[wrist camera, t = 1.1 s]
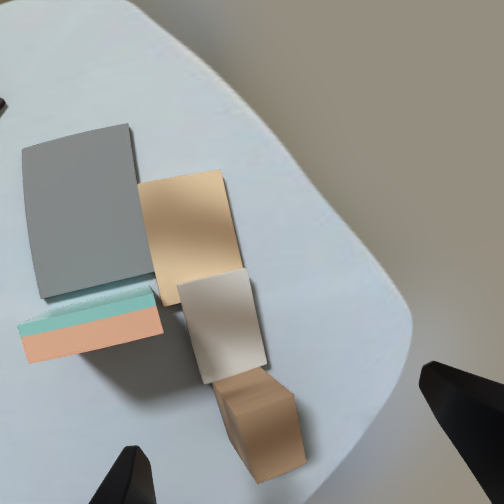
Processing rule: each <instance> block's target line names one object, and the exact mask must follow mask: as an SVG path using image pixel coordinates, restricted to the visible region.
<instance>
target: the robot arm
mask: <svg viewBox="0 0 504 504" xmlns="http://www.w3.org/2000/svg"><path fill="white" fill-rule="evenodd" d="M419 388H420V390H421V392H422V394H423V395H424V397H425V399H426V401H427V403H428V404H429V406H430V408H431V410H432V412H433V414H434V416H435V418H436V419H437V421H438V423H439V424H440V426H441V427H442V428H443V430H444V431H445V433H446V434H447V436H448V437H449V439H450V440H451V441H452V443H453V445H454V446H455V447H456V449H457V450H458V452H459V453H460V455H461V456H462V458H463V459H464V461H465V462H466V464H467V465H468V467H469V468H470V470H471V471H472V473H473V475H474V476H475V478H476V479H477V481H478V482H479V484H480V485H481V487H482V489H483V490H484V492H485V493H486V495H487V496H488V498H489V500H490V501H491V503H492V504H504V384H501V383H498V382H495V381H492V380H489V379H486V378H483V377H480V376H477V375H474V374H471V373H468V372H465V371H462V370H459V369H456V368H453V367H451V366H448V365H445V364H442V363H439V362H436V361H431V362H429V363H427V364H425V365H423V367H422V370H421V374H420V379H419ZM89 504H157V503H156V497H155V491H154V485H153V478H152V471H151V465H150V462H149V460H148V458H147V457H146V455H145V454H144V453H143V451H142V450H141V448H140V447H139V446H137V445H135V446H126V447H125V448H124V449H123V450H122V452H121V453H120V455H119V456H118V458H117V460H116V461H115V463H114V464H113V466H112V467H111V469H110V471H109V472H108V474H107V475H106V477H105V478H104V480H103V482H102V483H101V485H100V486H99V488H98V489H97V491H96V493H95V494H94V496H93V497H92V499H91V501H90V502H89Z"/></svg>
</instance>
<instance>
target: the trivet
mask: <svg viewBox="0 0 504 504" xmlns="http://www.w3.org/2000/svg"><path fill="white" fill-rule="evenodd" d="M22 172H23V189H24V201H25V211H26V220H27V228H28V235H29V242H30V248H31V254H32V260H33V265H34V270H35V275H36V280H37V285H38V289H39V294H40V298H41V299H43V298H47V297H51V296H55V295H59V294H63V293H68V292H72V291H76V290H80V289H84V288H88V287H93V286H97V285H101V284H105V283H109V282H113V281H118V280H122V279H126V278H130V277H134V276H138V275H143V274H147V273H151V272H155V271H154V266H153V262H152V257H151V253H150V248H149V244H148V239H147V234H146V229H145V224H144V219H143V214H142V209H141V204H140V198H139V192H138V187H137V181H136V175H135V168H134V162H133V155H132V148H131V141H130V133H129V125H128V123H127V124H121V125H116V126H111V127H106V128H101V129H96V130H92V131H87V132H83V133H79V134H74V135H70V136H66V137H62V138H59V139H55V140H51V141H48V142H44V143H40V144H37V145H34V146H30V147H27V148H24V149H22Z"/></svg>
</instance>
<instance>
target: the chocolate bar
mask: <svg viewBox="0 0 504 504" xmlns="http://www.w3.org/2000/svg"><path fill="white" fill-rule="evenodd" d="M5 103H6V102H5V101H4V99H2V98H0V110H1V108H2V107H3V106H4V104H5Z"/></svg>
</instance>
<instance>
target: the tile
mask: <svg viewBox="0 0 504 504" xmlns="http://www.w3.org/2000/svg"><path fill="white" fill-rule="evenodd" d="M17 327H18V331H19V334H20V337H21V341H22V344H23V347H24V350H25V353H26V356H27V359H28V362H29V364H30V363H35V362H40V361H45V360H50V359H55V358H60V357H64V356H69V355H74V354H78V353H83V352H87V351H92V350H96V349H101V348H105V347H109V346H114V345H118V344H122V343H126V342H130V341H134V340H138V339H142V338H146V337H150V336H154V335H158V334H162V333H164V332H163V328H162V325H161V321H160V317H159V314H158V310H157V306H156V302H155V299H154V295H153V292H152V290H151V289H150V287H149V286H145V287H141V288H137V289H133V290H129V291H125V292H120V293H116V294H112V295H108V296H104V297H100V298H95V299H91V300H87V301H83V302H79V303H74V304H70V305H66V306H62V307H57V308H53V309H51V310H49V311H47V312H45V313H42V314H40V315H38V316H36V317H34V318H32V319H30V320H27V321H25V322H23V323H21V324H19V325H17Z"/></svg>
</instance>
